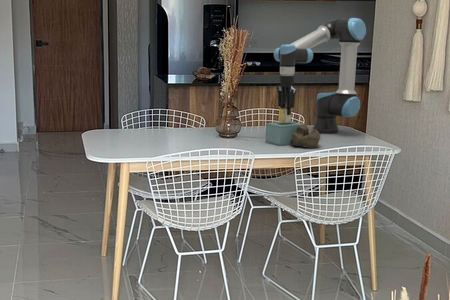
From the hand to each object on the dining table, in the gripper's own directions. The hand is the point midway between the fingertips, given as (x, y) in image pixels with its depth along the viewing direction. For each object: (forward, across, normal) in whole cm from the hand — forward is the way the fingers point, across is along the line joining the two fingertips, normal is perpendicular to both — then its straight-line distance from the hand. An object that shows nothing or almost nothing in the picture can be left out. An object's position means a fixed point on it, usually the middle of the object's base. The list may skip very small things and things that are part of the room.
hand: (285, 120), depth 306 cm
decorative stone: (+12, +14, +3) cm, 18 cm away
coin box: (+12, 0, 0) cm, 12 cm away
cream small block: (+1, 0, 0) cm, 1 cm away
